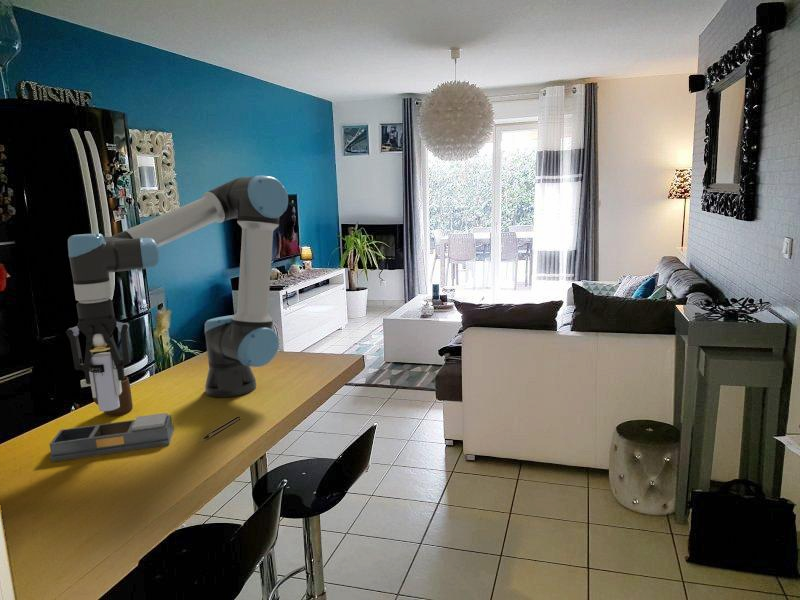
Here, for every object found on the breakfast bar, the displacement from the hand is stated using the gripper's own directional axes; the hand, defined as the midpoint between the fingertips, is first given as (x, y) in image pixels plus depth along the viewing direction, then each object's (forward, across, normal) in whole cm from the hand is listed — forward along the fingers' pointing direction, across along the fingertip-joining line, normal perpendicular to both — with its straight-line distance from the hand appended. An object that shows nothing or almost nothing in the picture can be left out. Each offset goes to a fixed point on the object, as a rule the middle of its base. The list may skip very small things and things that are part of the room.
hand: (107, 394), depth 141 cm
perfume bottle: (+4, 0, 0) cm, 4 cm away
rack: (+13, 0, 0) cm, 13 cm away
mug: (+13, +5, -23) cm, 27 cm away
